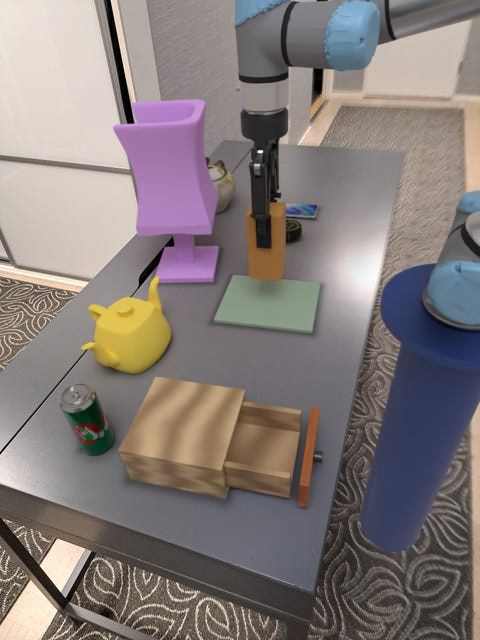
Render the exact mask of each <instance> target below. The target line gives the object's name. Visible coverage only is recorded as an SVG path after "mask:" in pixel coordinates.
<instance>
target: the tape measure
mask: <svg viewBox="0 0 480 640" xmlns="http://www.w3.org/2000/svg"><path fill="white" fill-rule="evenodd" d="M302 234H303V226H302V224H301V223H300V222H299V221H298V220H293V219H286V243H291V242H295V241H297V240H299V239H300V238H301V236H302Z"/></svg>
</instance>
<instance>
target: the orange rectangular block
mask: <svg viewBox="0 0 480 640" xmlns="http://www.w3.org/2000/svg"><path fill="white" fill-rule="evenodd" d="M286 203H287V202H277V203H274V202H270V215H271V236H272V247H271V249H266V248H257V246H256V222H255V219H252V217H250V214H251V213H252V201H250V205H249V207H248V209H247V210H246V213H245V226H246V243H247V246H246V247H247V261H248V276H249V278H251V279H262V280H272V281H281V280H282V279H283V276H284V273H285V270H286V249H287V248H286V243H287V242H286V220H287V217H286Z"/></svg>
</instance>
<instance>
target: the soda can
mask: <svg viewBox="0 0 480 640" xmlns="http://www.w3.org/2000/svg"><path fill="white" fill-rule="evenodd" d="M59 397H60V398H59V406H60V407H59V408H60V409H61V411H62V413H63V416H64V418H65V419H66V421H67V423H68V425H69V427H70V429H71V431H72V433H73V434H74V436H75V438H76V440H77V442H78V443H79V446H80V447H81V449H82V452H84V453H85V454H86V455H90V456H97V455H100V454H103V453H105V452H106V451H108V450H109V449H110V448H111V446H112V445H113V443H114V440H115V435H114V432H113V430H112V428H111V425H110V422H109V420H108V417H107V416H106V413H105V411H104V409H103V406H102V403H101V401H100V399H99V397H98V393H97V392H96V390H95V389H94V388H93V387H91V386H90V385H89V384H88V383H84V382H76V383H73V384H70V385H68V386H67V387H66V388H65V389H64V390H63V391H62V392H61V393H60V395H59Z"/></svg>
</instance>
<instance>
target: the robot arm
mask: <svg viewBox="0 0 480 640" xmlns="http://www.w3.org/2000/svg"><path fill="white" fill-rule="evenodd" d="M478 18H480V0H319V1H317V0H316V1H296V0H234V24H233V25H234V26H233V28H234V29H235V41H236V53H237V54H236V55H237V56H236V57H237V69H238V84H236V85H235V91H236V92H239V107H240V108H241V109H242V110H241V111H240V113H239V115H240V116H239V117H240V132H241V134H242V136H243V137H244V138H245V139H247V140H250V141H252V142H253V148H251V149H250V150H251V151H250V159H251V161H250V162H249V164H248V170H249V175H250V196H251V198H250V199H251V202H252V213H251V214H250V217H252V219H255V222H256V246H257V248H266V249H271V247H272V236H271V215H270V202H274V203H278V199H281V198H282V192H278V191H279V190H280V154H279V153H280V141H281V138H283V137H285V136H286V135H287V134H288V132H289V109H288V108H287V106H288V105H289V104H290V67H291V68H305V69H319V70H331V71H332V70H333V71H337V72H345V71H361V70H365V69H366V68H368V67H369V65H370V64H371V62H372V60H373V57H374V56H375V54H376V50H377V47H378V46H381V45H384V44H388V43H391V42H394V41H397V40H401V39H403V38H409V37H411V36H415V35H419V34H423V33H426V32H430V31H434V30H437V29H440V28H445V27H449V26H452V25H456V24H459V23H463V22H467V21H472V20H475V19H478ZM455 210H456V211H455V215H454V218H453V221H452V225H451V227H450V229H449V232H448V235H447V238H446V240H445V241H444V244H443V247H442V249H441V251H440V254H439V256H438V258H437V260H436V262H435V263H436V265H435V268H434V270H433V271H432V272H431V274H430V278H429V283H428V285H427V286H426V288H425V290H424V292H423V296H422V306H423V309H424V310H425V312H426V313H427V314H428V315H429V316H430V317H431V318H432V319H433V320H435V321H436V322H438V323H439V324H441V325H443V326H446V327H448V328H451V329H454V330H458V331H462V332H470V333H480V189H477V190H476V189H475V190H471V191H468V192H466V193H464V194H463V195H462V196H461V197H460V199H459V201H458V203H457V205H456V207H455Z"/></svg>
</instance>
